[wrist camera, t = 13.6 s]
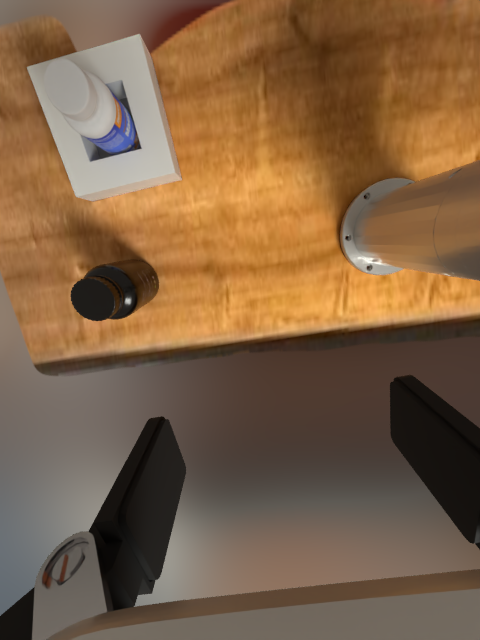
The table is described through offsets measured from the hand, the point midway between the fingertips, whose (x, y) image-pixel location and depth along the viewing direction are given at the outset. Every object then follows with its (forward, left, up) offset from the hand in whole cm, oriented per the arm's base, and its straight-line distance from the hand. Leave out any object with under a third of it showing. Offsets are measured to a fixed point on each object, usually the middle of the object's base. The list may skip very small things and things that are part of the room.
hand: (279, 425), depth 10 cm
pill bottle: (+13, -23, -28) cm, 39 cm away
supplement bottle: (+17, -5, -28) cm, 34 cm away
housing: (+13, -23, -28) cm, 39 cm away
